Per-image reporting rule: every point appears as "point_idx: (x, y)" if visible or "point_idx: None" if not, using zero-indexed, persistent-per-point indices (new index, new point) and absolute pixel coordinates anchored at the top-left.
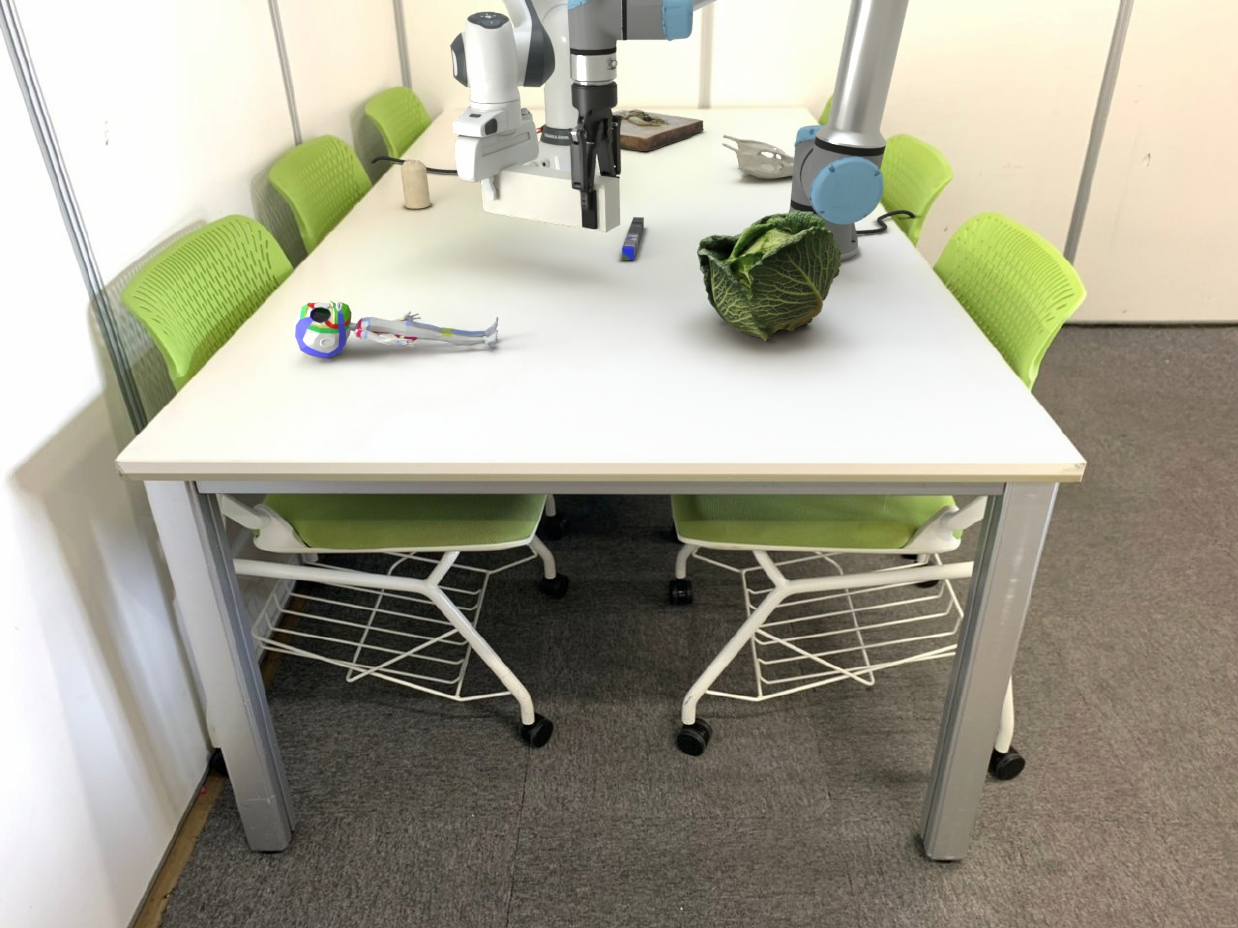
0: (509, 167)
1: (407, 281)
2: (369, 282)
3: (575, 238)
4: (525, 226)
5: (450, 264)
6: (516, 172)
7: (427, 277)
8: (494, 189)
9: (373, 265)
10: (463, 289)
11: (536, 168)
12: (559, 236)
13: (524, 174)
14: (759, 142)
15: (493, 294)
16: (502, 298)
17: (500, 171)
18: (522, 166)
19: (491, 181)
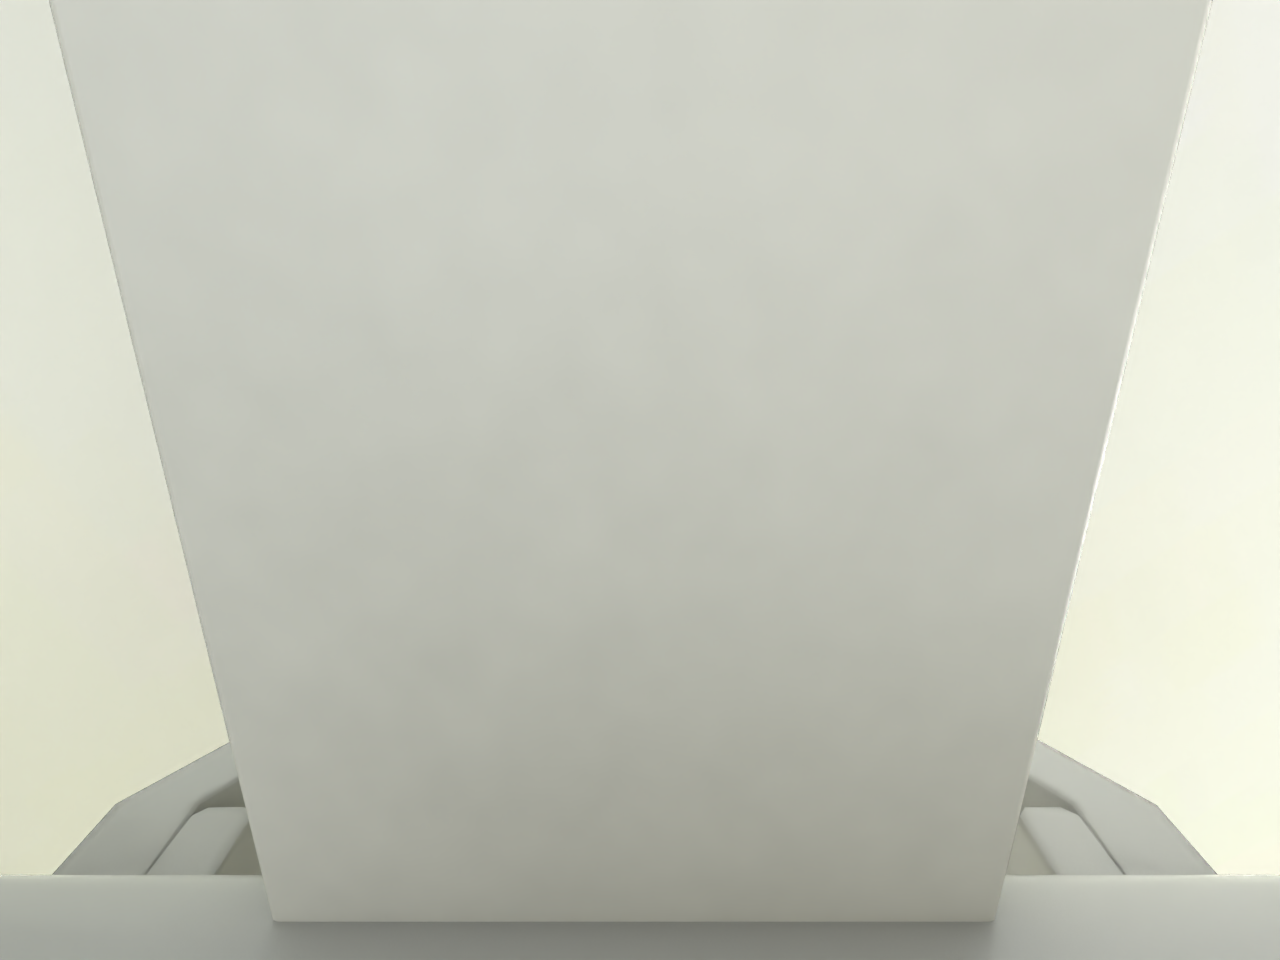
0: (662, 891)
1: (1147, 693)
2: (1207, 821)
3: (49, 288)
4: (111, 687)
5: None
6: (1110, 426)
7: (1064, 647)
8: None
9: None
10: (1183, 369)
11: (295, 68)
12: (98, 410)
13: (1185, 39)
14: None
15: (1220, 140)
16: (1276, 32)
17: (986, 897)
18: (387, 671)
19: (1108, 819)
